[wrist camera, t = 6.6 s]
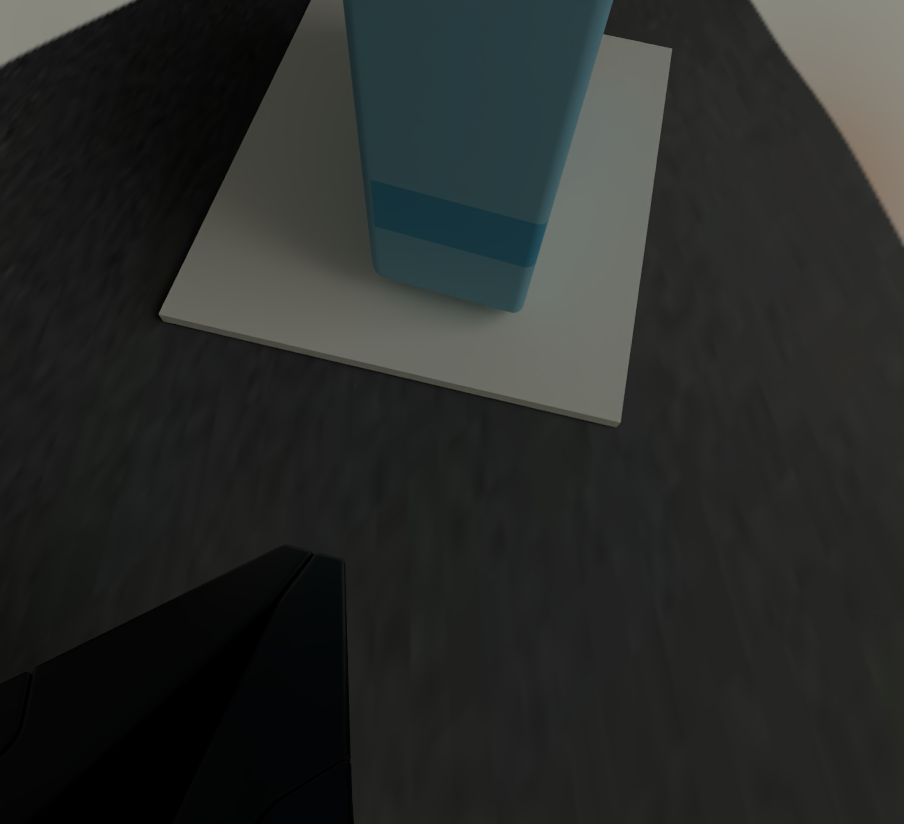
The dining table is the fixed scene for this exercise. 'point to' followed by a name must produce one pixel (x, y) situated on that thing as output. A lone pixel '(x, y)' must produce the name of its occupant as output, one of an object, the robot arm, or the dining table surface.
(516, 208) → the blue rounded flat block
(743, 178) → the dining table surface
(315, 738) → the robot arm
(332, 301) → the mat
